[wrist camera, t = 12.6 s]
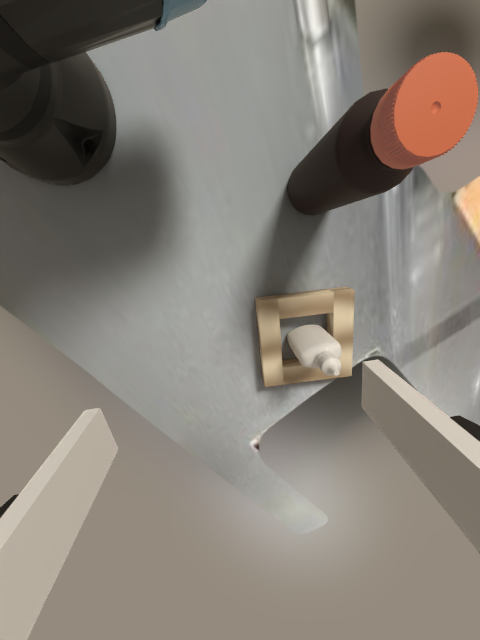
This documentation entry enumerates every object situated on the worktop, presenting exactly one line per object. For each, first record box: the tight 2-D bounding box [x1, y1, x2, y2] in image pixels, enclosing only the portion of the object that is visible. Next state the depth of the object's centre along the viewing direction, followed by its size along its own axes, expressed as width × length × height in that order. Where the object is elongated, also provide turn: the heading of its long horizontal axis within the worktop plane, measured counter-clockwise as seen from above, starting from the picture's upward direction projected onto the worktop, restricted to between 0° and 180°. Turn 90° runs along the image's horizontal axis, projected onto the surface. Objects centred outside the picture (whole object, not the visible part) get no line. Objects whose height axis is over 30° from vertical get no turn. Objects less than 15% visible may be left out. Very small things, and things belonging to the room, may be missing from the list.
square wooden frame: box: [255, 287, 354, 387], centre depth 37 cm, size 14×14×2 cm
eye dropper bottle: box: [287, 325, 342, 376], centre depth 33 cm, size 4×6×12 cm
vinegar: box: [288, 52, 478, 215], centre depth 23 cm, size 7×7×20 cm
